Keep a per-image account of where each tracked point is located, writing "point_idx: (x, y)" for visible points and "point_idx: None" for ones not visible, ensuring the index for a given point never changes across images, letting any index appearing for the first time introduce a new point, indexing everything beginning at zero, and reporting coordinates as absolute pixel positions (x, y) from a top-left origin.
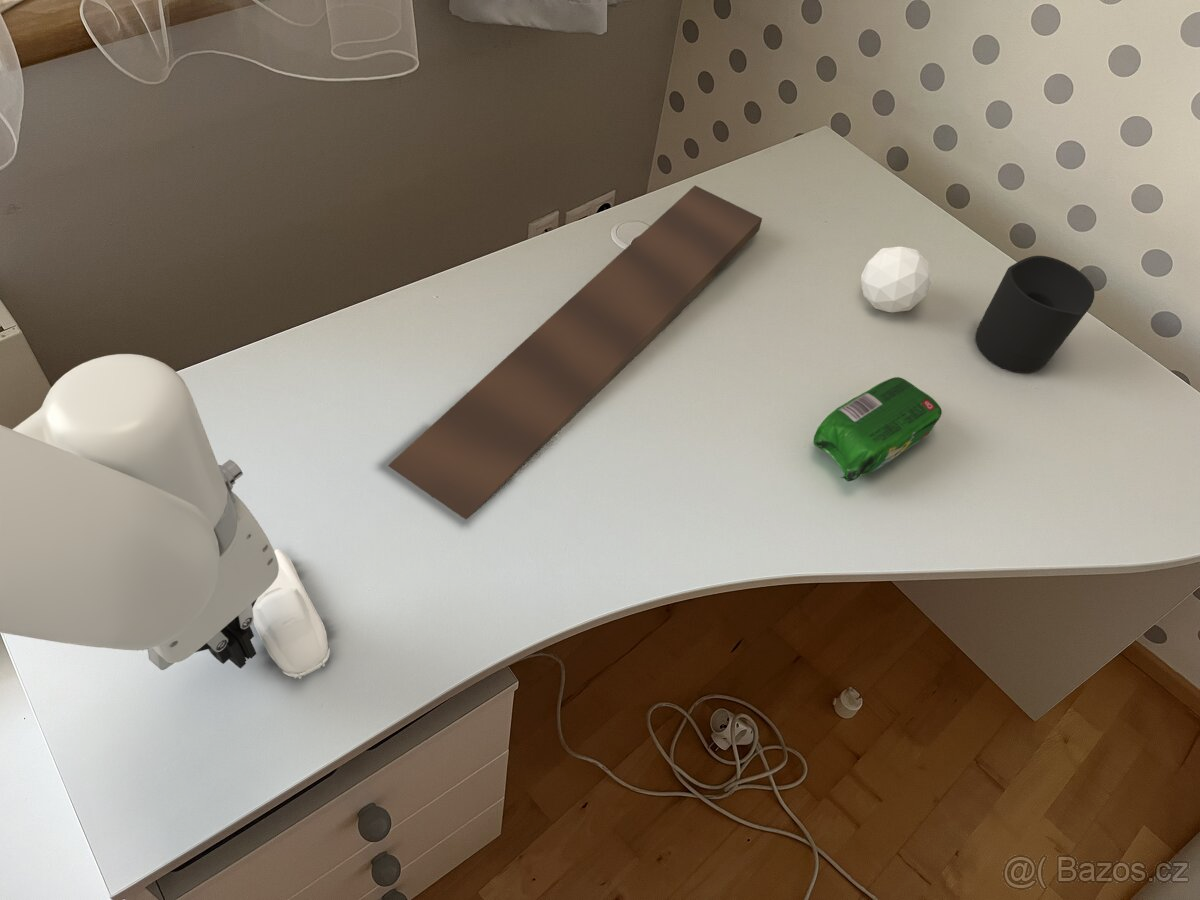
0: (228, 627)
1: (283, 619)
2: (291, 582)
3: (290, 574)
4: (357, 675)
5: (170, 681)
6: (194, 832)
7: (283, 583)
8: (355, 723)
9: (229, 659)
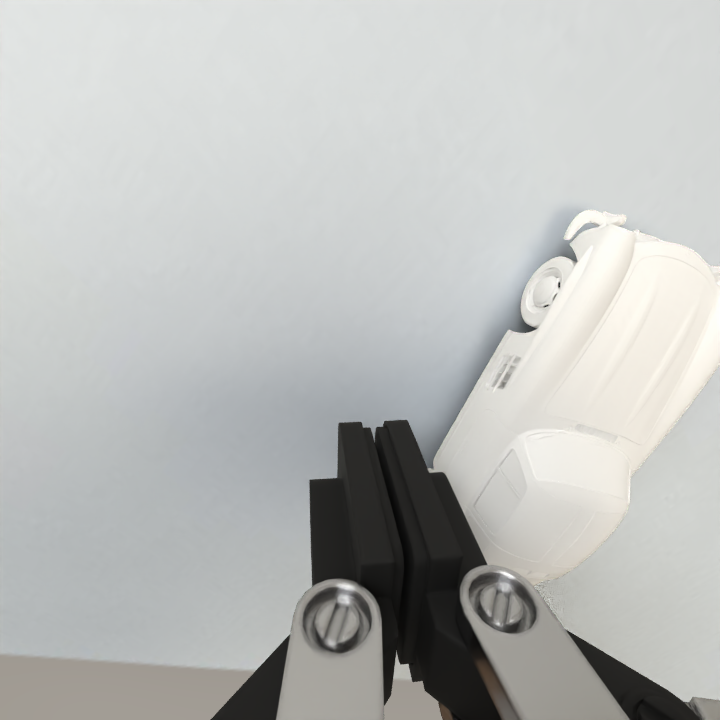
0: (415, 623)
1: (530, 564)
2: (646, 442)
3: (671, 418)
4: None
5: (179, 343)
6: (24, 645)
7: (634, 431)
8: (395, 659)
9: (337, 477)
